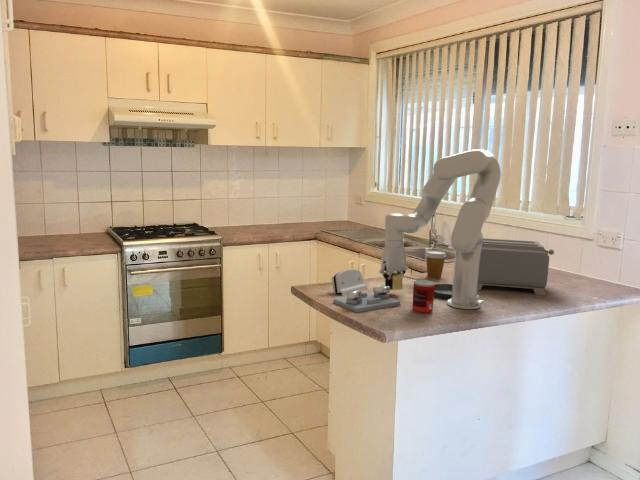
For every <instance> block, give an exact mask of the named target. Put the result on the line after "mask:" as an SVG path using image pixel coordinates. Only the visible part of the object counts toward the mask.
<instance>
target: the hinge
mask: <svg viewBox="0 0 640 480" xmlns="http://www.w3.org/2000/svg"><path fill="white" fill-rule="evenodd" d="M331 283H332V291H333V294H334V295H335V294H339V293H341V296H342V297H346V296H347V294H348V293H350V292H353V291H356V290H360V291H361V292H363V291H366V290H368V286H367V284H365V282H364V278H363V276H362V272H361V271H360V270H357V269H345V270H341V271H338V272H337V273H335V274H334V275H332V277H331Z"/></svg>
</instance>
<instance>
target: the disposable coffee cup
mask: <svg viewBox="0 0 640 480" xmlns="http://www.w3.org/2000/svg"><path fill="white" fill-rule="evenodd" d="M446 257H447V254H446V252H444V251H441V250H426V253H425V259H426V273H427V275H426V276H427V278H428V279H433V280H436V279H437V280H439V279H441V278H442V274H443V270H444V264H445V259H446Z"/></svg>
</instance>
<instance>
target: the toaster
mask: <svg viewBox="0 0 640 480" xmlns="http://www.w3.org/2000/svg"><path fill="white" fill-rule="evenodd" d="M554 254H555V251H554V250H553V249H549V250H547V249H546V248H545V246H543V245H542V244H540V242H539V241H537V240H536V241H535V240H533V241H532V240H520V239H519V240H516V239H503V238H486V237H483V243H482V249H481V256H480V267H479V278H478V290H477V291H481V290H482V287H483V286H491V287H492V286H493V287H494V286H495V287H503V288H505V287H506V288H508V287H509V288H516V289H518V288H519V289H520V288H521V289H529V290H530V289H531V290H532V292H533V294H535V295H537V296H546V291H545V289H546V287H547V284H548V278H549V277H548V275H549V266H550V256H552V255H554Z"/></svg>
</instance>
